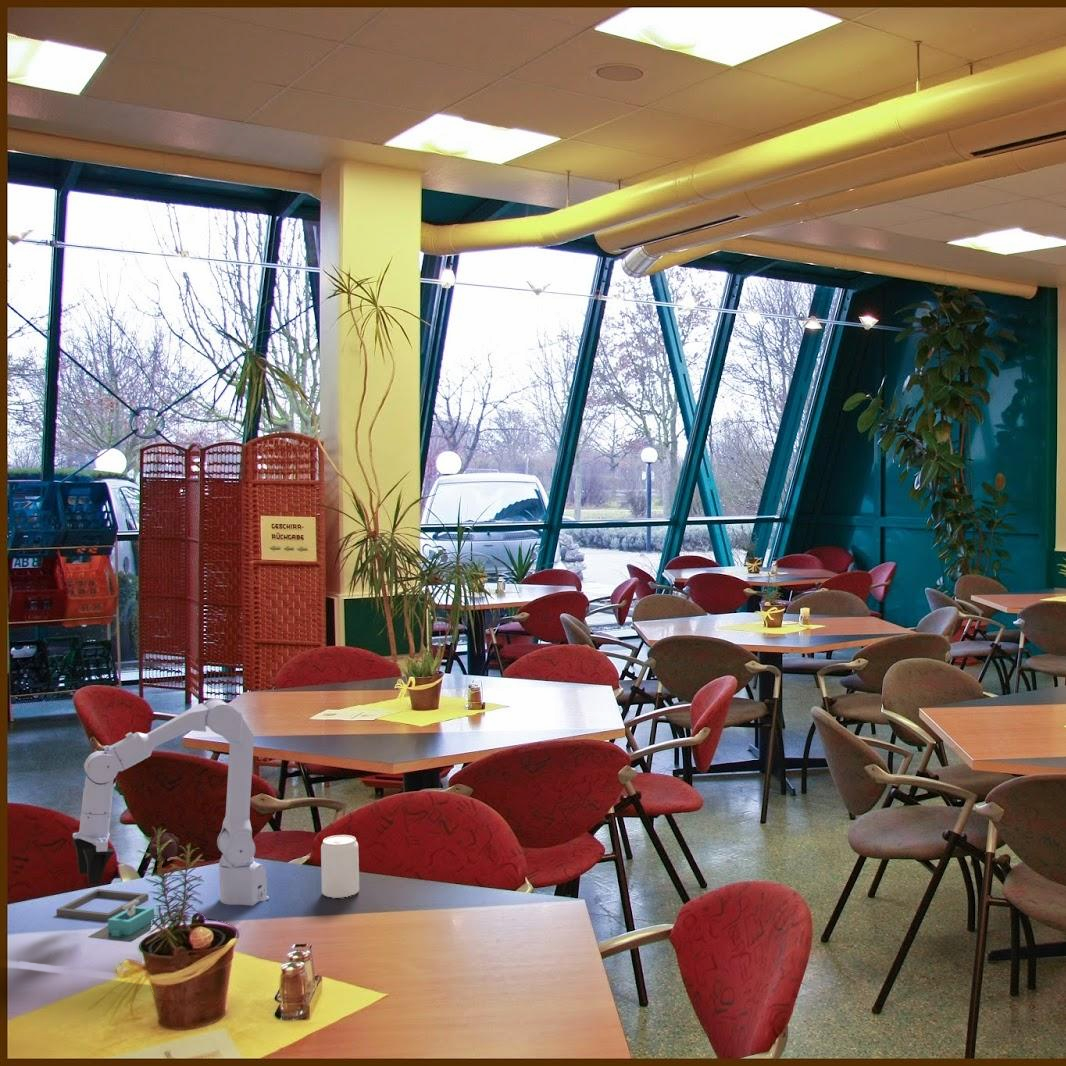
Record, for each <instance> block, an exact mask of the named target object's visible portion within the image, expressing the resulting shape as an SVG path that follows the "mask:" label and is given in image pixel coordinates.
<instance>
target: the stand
mask: <svg viewBox="0 0 1066 1066" xmlns="http://www.w3.org/2000/svg"><path fill="white" fill-rule="evenodd" d="M130 901H131V902H130ZM130 901H128V902H129V903H128V902H127V903H128V904H126V903H125V904H126V905H124V904H123V905H124V906H123V909H126V910H127V920H129V919H130V918H132V917H134V916H135V905H136V904H138V903H139V900H133V901H132V900H130ZM158 915H159V914H154V918H158ZM155 916H157V917H155ZM151 927H152V926H151V923H149V924H148V925H146V926H144V927H143V928H141V929H139V930H137V931H136V932H134V933H132V934H130V935H125V934H122V935H120V936H112V933H108V925H107V926H104V927H103V928H101V929H99V930H97V931H96V932H94V933H92V934H91V935H89V936H87V938H90V939H91V938H93V939H99V940H111V941H119V942H126V943H132V942H133V941H136V940H137V939H139V938H140V937H142V936H144V935H145V934H147V933H149V932H150V931H151V930H150V929H151Z"/></svg>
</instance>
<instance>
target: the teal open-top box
mask: <svg viewBox="0 0 1066 1066" xmlns="http://www.w3.org/2000/svg"><path fill="white" fill-rule="evenodd" d="M154 915H155V908H154V907H149V906H148V907H147V906H140V905H138V906H135V916H134V917H132V918H130V919H129V920H127V910H125V911H123V912H121V913H119V914H117V915H116V916H114V917H112V918H110V919H108V921H107V926H108V933H112V936H120V935H122V934H125V935H130V934H132V933H134V932H136V931H137V930H139V929H141V928H143V927H144V926H146V925H148V924H149V923H151V920H152V919H154Z"/></svg>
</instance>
